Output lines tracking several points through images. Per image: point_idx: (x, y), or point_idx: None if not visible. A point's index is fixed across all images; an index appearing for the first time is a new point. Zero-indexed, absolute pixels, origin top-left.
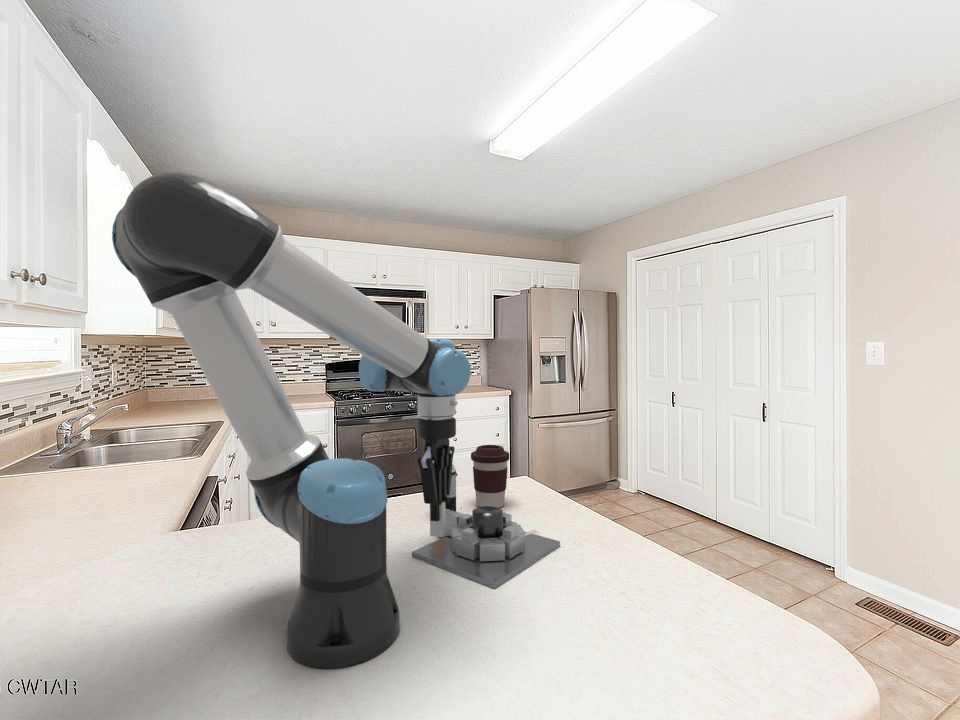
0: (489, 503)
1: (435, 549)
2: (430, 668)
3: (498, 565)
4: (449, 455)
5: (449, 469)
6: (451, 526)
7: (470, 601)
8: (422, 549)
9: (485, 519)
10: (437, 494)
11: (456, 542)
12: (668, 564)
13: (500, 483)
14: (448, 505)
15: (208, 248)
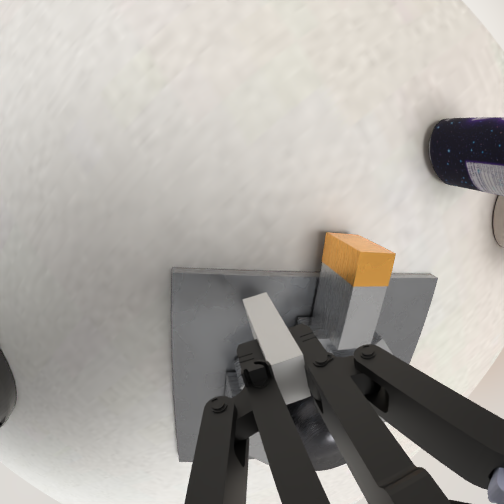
0: (501, 234)
1: (224, 315)
2: (19, 454)
3: None
4: (487, 484)
5: (431, 454)
6: (328, 310)
7: (124, 447)
8: (202, 286)
9: None
10: (247, 460)
11: (231, 395)
12: (355, 495)
13: None
14: (458, 181)
15: None
